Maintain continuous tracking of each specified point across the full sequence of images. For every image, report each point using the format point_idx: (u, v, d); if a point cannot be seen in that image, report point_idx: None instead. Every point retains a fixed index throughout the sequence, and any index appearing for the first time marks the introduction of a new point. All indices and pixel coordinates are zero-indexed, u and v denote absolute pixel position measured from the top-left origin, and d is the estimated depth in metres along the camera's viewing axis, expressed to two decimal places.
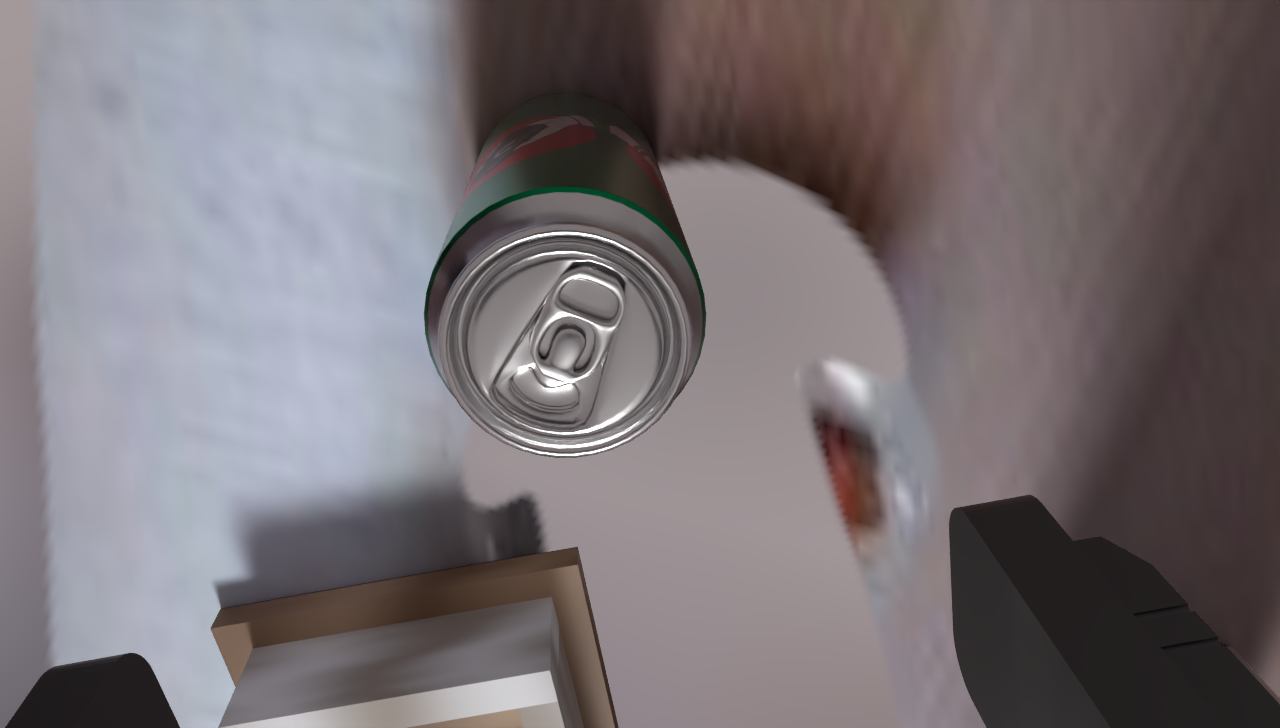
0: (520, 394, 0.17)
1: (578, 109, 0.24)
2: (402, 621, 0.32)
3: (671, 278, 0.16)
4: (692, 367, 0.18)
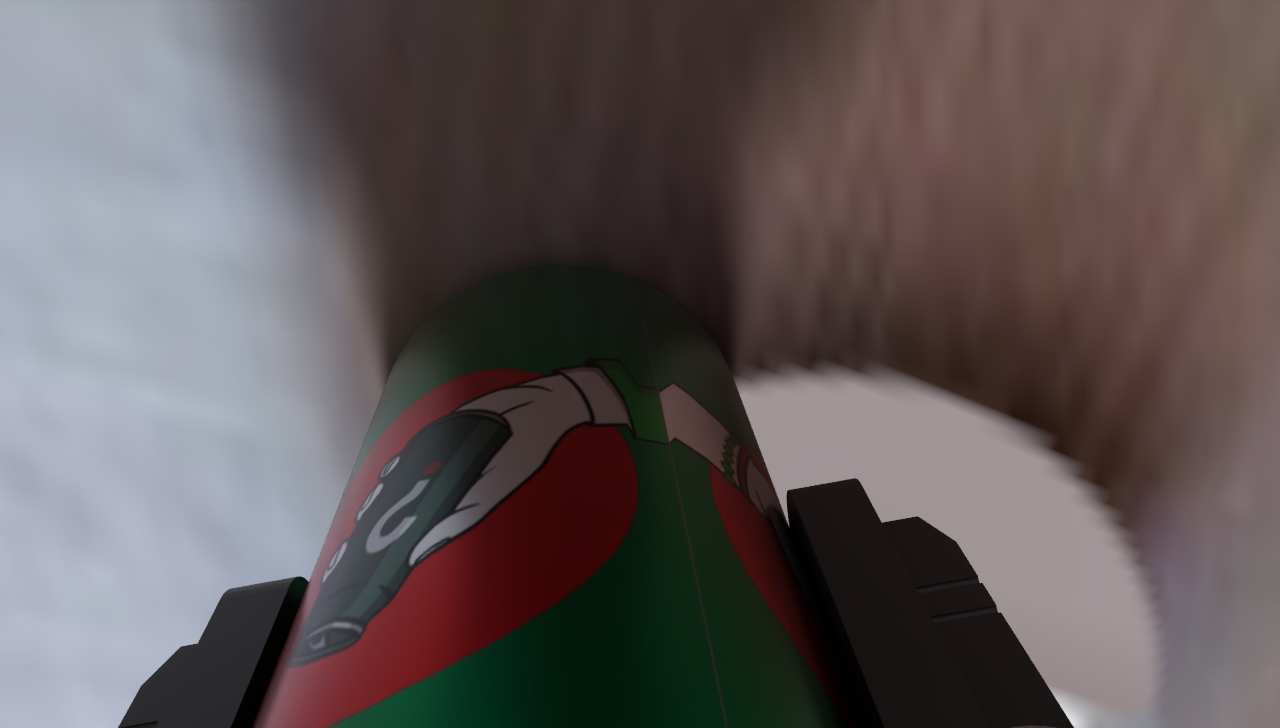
0: None
1: (586, 337, 0.11)
2: None
3: None
4: None
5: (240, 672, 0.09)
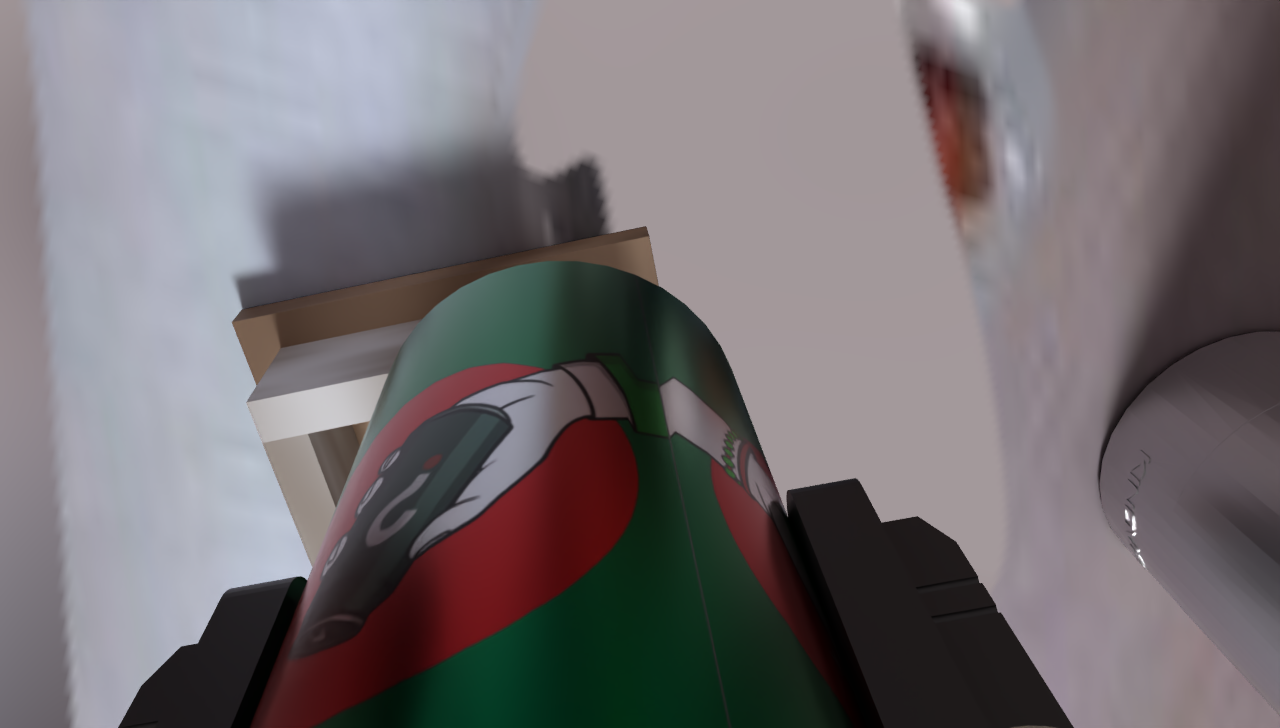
0: None
1: (586, 332, 0.11)
2: None
3: None
4: None
5: (240, 672, 0.09)
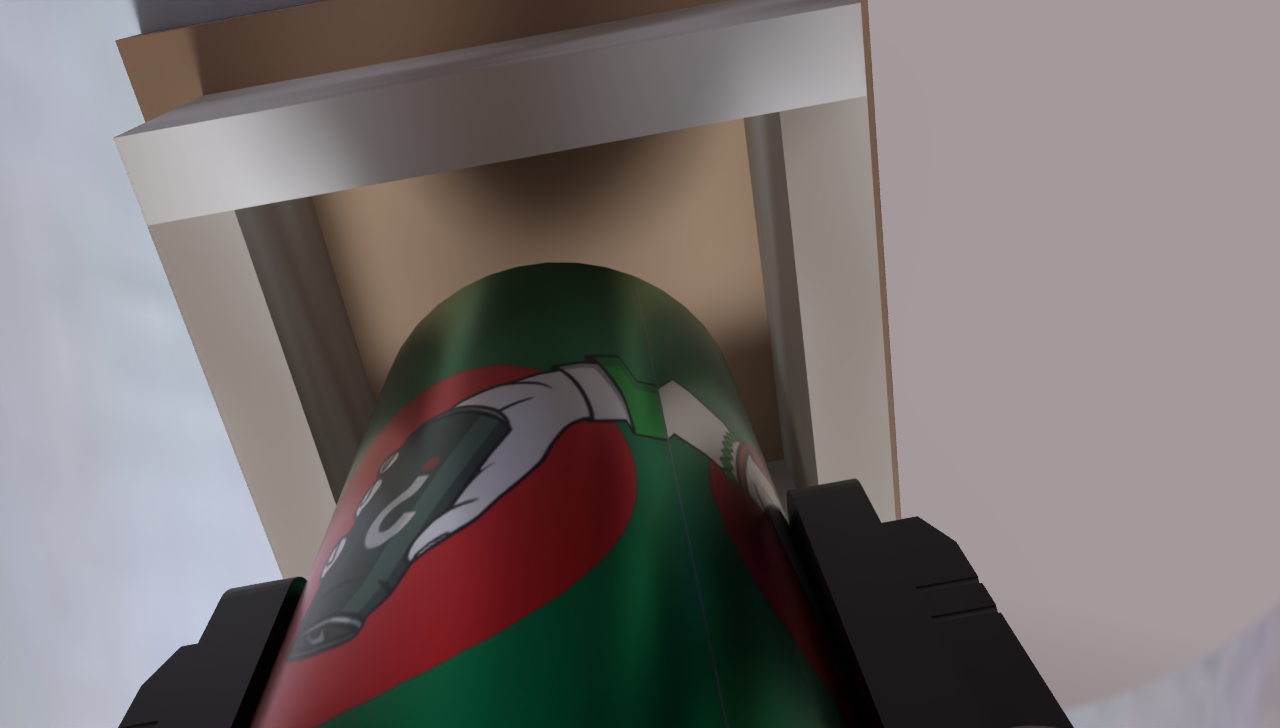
0: None
1: (585, 333, 0.11)
2: (501, 37, 0.16)
3: None
4: None
5: (240, 672, 0.09)
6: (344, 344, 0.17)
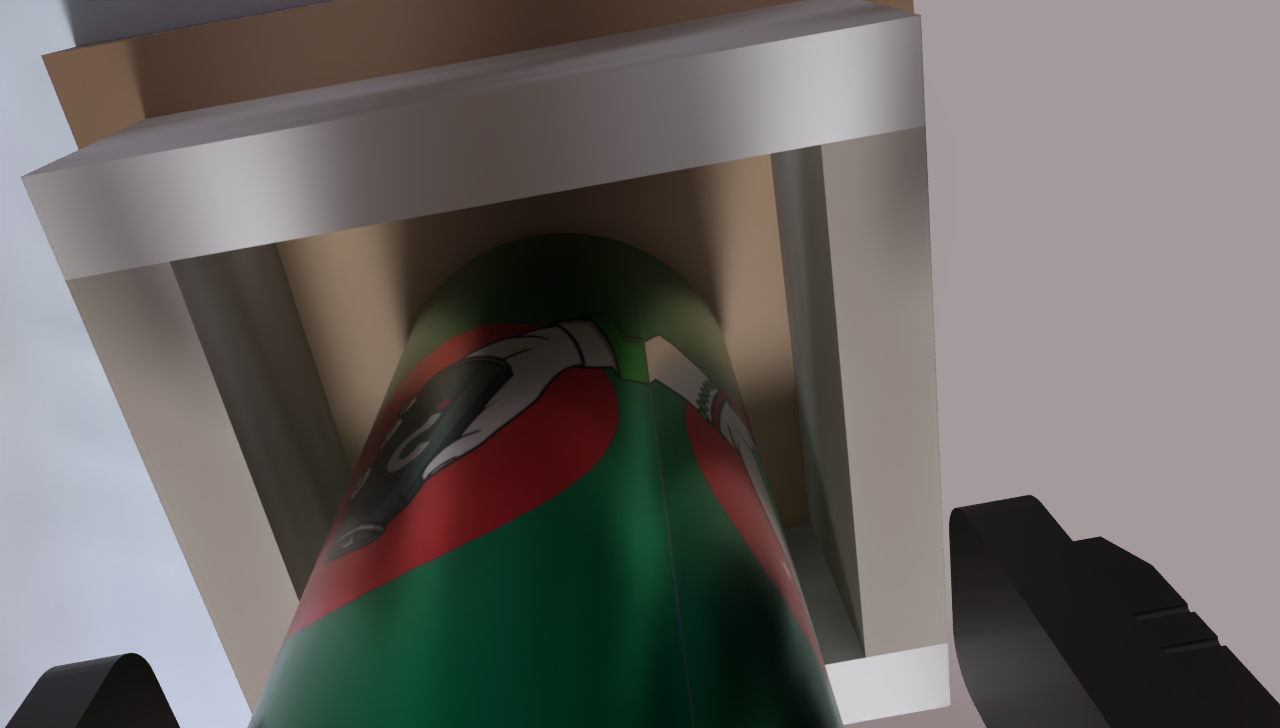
0: None
1: (582, 294, 0.12)
2: (490, 52, 0.14)
3: None
4: None
5: None
6: (311, 401, 0.15)
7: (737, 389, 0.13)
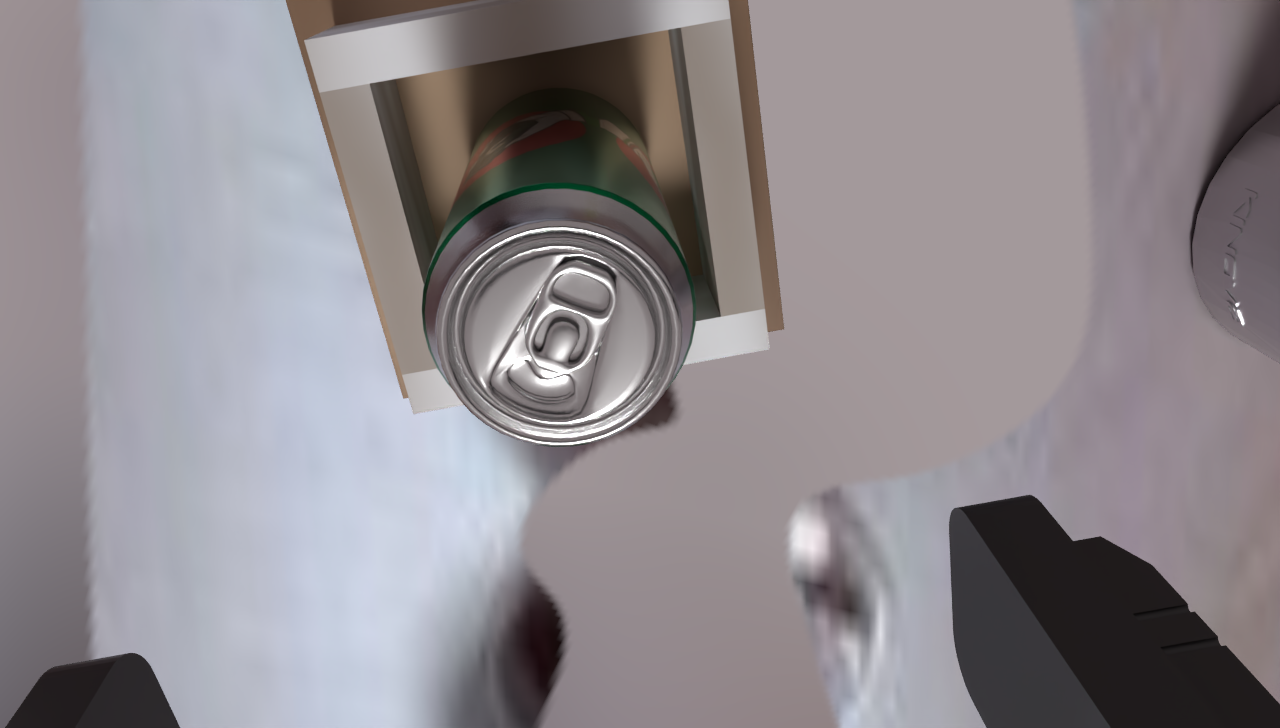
0: (517, 386, 0.18)
1: (568, 104, 0.24)
2: None
3: (660, 270, 0.17)
4: (684, 355, 0.19)
5: None
6: (418, 186, 0.27)
7: (648, 158, 0.25)
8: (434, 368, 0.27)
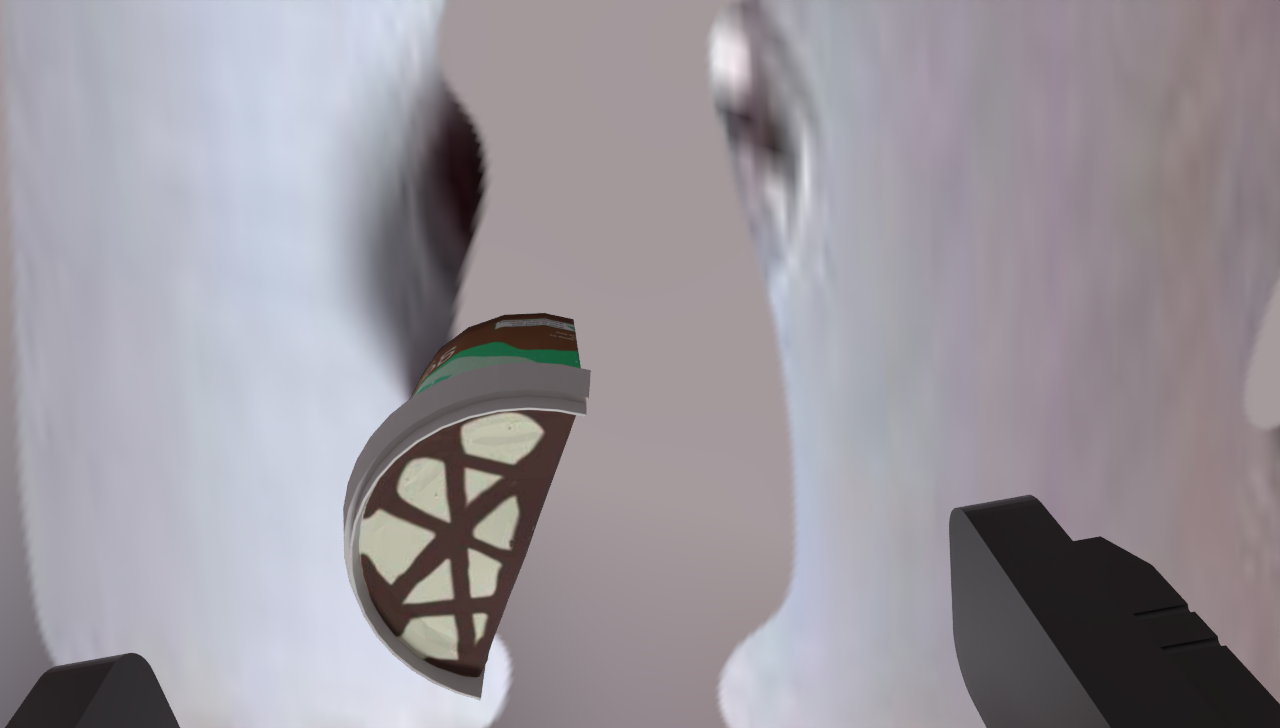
0: None
1: None
2: None
3: None
4: None
5: None
6: None
7: None
8: None
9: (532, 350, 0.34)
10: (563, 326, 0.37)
